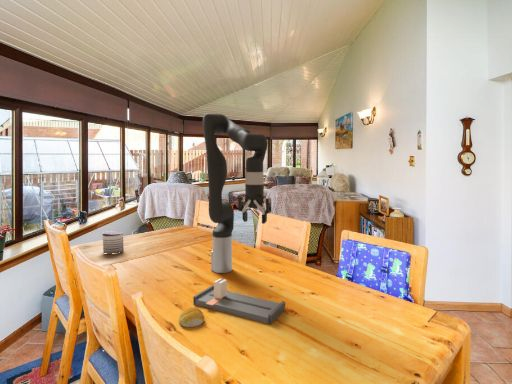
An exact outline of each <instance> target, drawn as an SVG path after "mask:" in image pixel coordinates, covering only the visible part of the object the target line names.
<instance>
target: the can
mask: <svg viewBox="0 0 512 384" xmlns="http://www.w3.org/2000/svg"><path fill="white" fill-rule="evenodd" d="M102 248H103V249H102V251H103V253H107V254H112V253H119V252H122V251H124V252H125V249H124V232H123V231H116V230H113V231H103V232H102ZM122 253H123V252H122Z"/></svg>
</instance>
